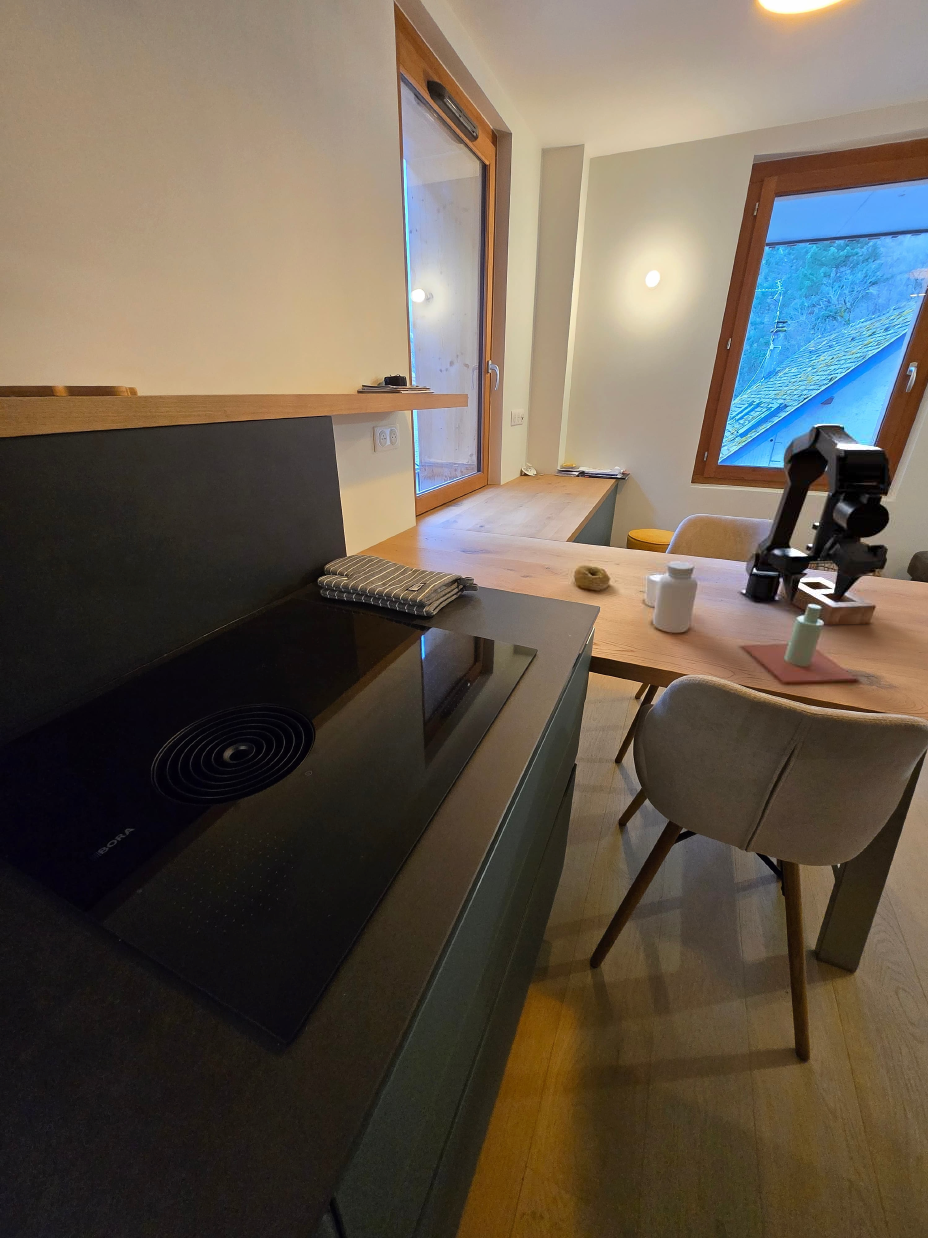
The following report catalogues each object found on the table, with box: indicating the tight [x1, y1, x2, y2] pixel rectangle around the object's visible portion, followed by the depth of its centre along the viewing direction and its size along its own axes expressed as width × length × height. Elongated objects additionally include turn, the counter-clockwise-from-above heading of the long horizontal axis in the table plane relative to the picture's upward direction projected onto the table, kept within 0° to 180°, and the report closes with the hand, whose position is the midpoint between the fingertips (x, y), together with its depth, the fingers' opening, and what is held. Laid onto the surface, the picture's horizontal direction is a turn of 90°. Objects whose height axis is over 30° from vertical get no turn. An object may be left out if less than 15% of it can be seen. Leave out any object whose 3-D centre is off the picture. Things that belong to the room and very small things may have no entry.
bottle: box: [784, 604, 825, 666], centre depth 96 cm, size 4×4×12 cm
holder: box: [778, 577, 877, 626], centre depth 121 cm, size 10×18×4 cm, turn 2°
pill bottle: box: [652, 560, 698, 634], centre depth 111 cm, size 8×8×15 cm
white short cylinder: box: [644, 572, 665, 608], centre depth 125 cm, size 7×7×7 cm
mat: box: [742, 643, 858, 684], centre depth 98 cm, size 14×14×1 cm
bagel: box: [573, 564, 611, 592], centre depth 137 cm, size 10×11×5 cm
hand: (813, 600), depth 96 cm, fingers open, 9 cm apart
